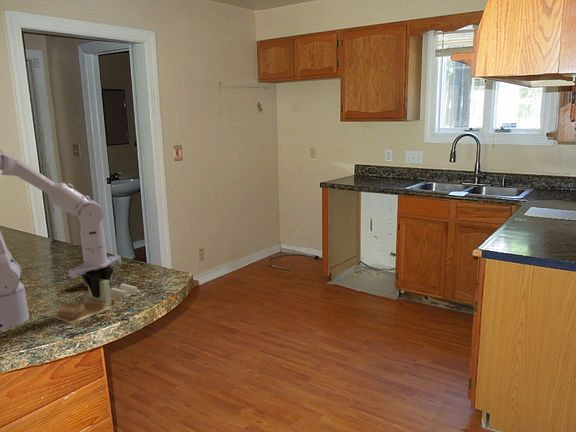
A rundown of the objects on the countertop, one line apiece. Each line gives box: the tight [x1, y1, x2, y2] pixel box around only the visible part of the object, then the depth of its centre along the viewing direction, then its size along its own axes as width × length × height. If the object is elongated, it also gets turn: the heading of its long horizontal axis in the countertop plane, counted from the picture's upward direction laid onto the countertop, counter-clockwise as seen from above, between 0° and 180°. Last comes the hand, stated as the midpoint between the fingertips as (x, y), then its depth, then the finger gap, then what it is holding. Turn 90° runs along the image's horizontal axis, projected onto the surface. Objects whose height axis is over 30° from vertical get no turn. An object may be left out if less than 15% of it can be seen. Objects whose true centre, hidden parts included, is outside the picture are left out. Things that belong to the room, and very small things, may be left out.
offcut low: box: [56, 310, 87, 321], centre depth 119 cm, size 4×6×1 cm, turn 58°
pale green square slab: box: [87, 278, 112, 307], centre depth 125 cm, size 2×7×7 cm, turn 58°
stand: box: [110, 283, 142, 300], centre depth 134 cm, size 7×6×2 cm
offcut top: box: [57, 302, 84, 315], centre depth 119 cm, size 4×5×1 cm
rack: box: [50, 296, 123, 325], centre depth 123 cm, size 15×9×2 cm, turn 148°
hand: (99, 295), depth 126 cm, fingers closed on pale green square slab, 2 cm apart
